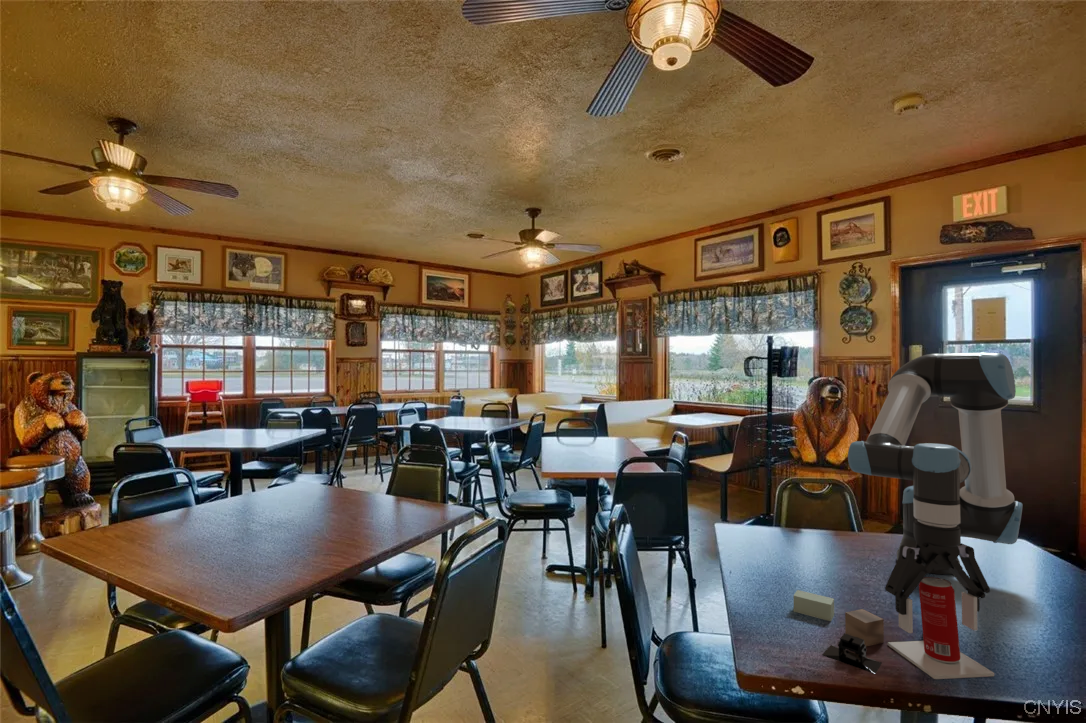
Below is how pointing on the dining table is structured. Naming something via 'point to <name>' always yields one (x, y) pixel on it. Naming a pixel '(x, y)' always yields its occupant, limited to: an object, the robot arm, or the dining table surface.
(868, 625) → the walnut block
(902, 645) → the tile
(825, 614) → the sage brick
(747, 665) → the dining table surface
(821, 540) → the dining table surface
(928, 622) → the beverage can
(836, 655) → the black angular piece
